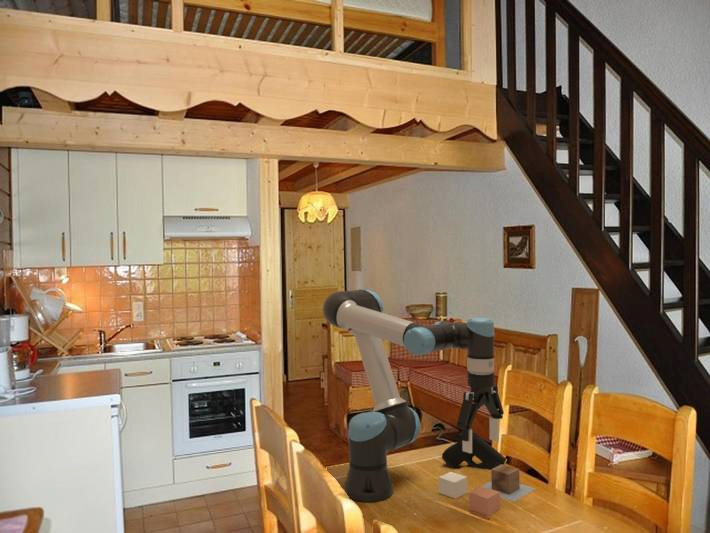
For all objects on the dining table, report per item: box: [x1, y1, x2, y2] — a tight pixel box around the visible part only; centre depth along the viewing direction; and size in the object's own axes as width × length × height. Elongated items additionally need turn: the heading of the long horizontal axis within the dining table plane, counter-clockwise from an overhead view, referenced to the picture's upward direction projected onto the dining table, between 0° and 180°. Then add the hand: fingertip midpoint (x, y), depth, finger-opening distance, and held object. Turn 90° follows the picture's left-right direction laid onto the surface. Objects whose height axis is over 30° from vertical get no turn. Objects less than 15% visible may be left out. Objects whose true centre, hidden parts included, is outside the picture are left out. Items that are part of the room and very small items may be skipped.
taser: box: [441, 430, 508, 471], centre depth 187 cm, size 4×18×15 cm
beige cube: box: [438, 471, 468, 499], centre depth 166 cm, size 6×6×6 cm
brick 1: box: [468, 485, 501, 521], centre depth 154 cm, size 6×6×6 cm
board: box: [481, 480, 536, 503], centre depth 167 cm, size 13×13×1 cm
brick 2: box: [490, 464, 521, 495], centre depth 167 cm, size 6×6×6 cm
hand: (481, 446), depth 157 cm, fingers open, 13 cm apart
